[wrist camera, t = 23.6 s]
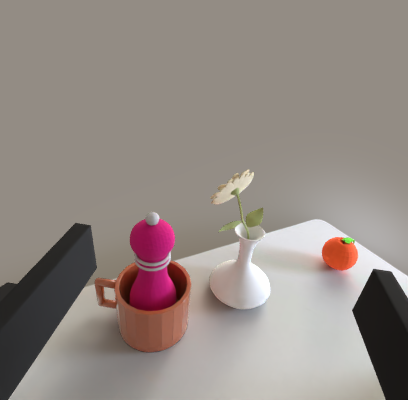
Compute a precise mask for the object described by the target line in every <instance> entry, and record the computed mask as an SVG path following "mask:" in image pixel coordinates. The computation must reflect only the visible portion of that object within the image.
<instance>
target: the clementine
mask: <svg viewBox="0 0 408 400" xmlns="http://www.w3.org/2000/svg"><path fill="white" fill-rule="evenodd" d="M352 241H353V243H352ZM354 242H355V241H354V240H353V239H351V238H342V237H335V238H332V239H330V240H328V241H327V242H326V243H325V245H324V246H323V249H322V256H323V259H324V261H325V262H326V264H327V265H328V266H330V267H331V268H333V269H336V270H347V269H349V268H351V267H352V266H354V264H355V263H356V261H357V258H358V252H357V249H356V247H355V245H354Z"/></svg>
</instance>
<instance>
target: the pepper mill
mask: <svg viewBox="0 0 408 400" xmlns="http://www.w3.org/2000/svg"><path fill="white" fill-rule="evenodd" d="M174 241H175V236H174V232H173V229H172V227H171V226H170V225H169V224H168V223H167V222H165V221H164V220H161V219H159V216H158V214H157V213H155V212H150V213H148V214H147V215H146V218H145V219H144V220H142V221H140V222H139V223H137V224H136V225H135V226H134V228H133V229H132V231H131V234H130V245H131V248H132V249H133V251H134V252H135V254H134V256H135V263H136V265H137V266H138V267H139V272H138V276H137V278H136V280H135V282H134V283H133V285H132V288H131V291H130V306H132V307H134V308H136V309H138V310H144V311H158V310H163V309H165V308H168V307H171V306H173V305H174V304H175V303H176V299H177V298H176V289H175V286H174V284H173V282H172V280H171V279H170V277H169V276H168V273H167V265H168V264H169V262H170V259H171V258H170V257H171V256H170V254H171V250H172V248H173V246H174Z"/></svg>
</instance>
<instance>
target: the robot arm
mask: <svg viewBox="0 0 408 400" xmlns="http://www.w3.org/2000/svg"><path fill="white" fill-rule="evenodd" d="M96 268H97V266H96V259H95V252H94V245H93V238H92V232H91V226H90V225H85V224H78V223H75V224H74V225H73V226H72V227H71V228H70V229H69V231H67V232H66V234H65V235H64V236H63V237H62V238H61V239H60V240H59V241H58V242H57V243H56V244H55V245H54V246H53V247H52V248H51V249H50V250H49V251H48V253H46V255H45V256H44V257H43V258H42V259H41V260H40V261H39V262H38V263H37V264H36V265H35V266H34V267H33V268H32V269H31V270H30V271H29V272H28V273H27V275H25V277H23V278H22V280H21V281H20V282H19V283H18V284H14V283H6V284H5V285H3V286H1V287H0V400H8V399H9V398H10V396H11V395H12V393H13V392H14V390H15V389H16V387H17V386H18V384H19V383H20V381H21V380H22V378H23V377H24V375H25V374H26V372H27V371H28V369H29V368H30V366H31V365H32V363H33V362H34V361H35V359H36V358H37V356H38V355H39V353H40V352H41V350H42V349H43V347H44V346H45V344H46V343H47V341H48V340H49V338H50V337H51V335H52V334H53V332H54V331H55V329H56V328H57V326H58V325H59V323H60V322H61V320H62V319H63V317H64V316H65V314H66V313H67V312H68V310H69V309H70V307H71V306H72V304H73V303H74V301H75V300H76V298H77V297H78V295H79V294H80V292H81V291H82V289H83V288H84V286H85V285H86V283H87V282H88V280H89V279H90V277H91V276H92V274H93V273H94V271H95V270H96ZM352 311H353V314H354V317H355V319H356V322H357V325H358V327H359V330H360V333H361V335H362V338H363V340H364V343H365V346H366V348H367V351H368V354H369V356H370V359H371V362H372V364H373V367H374V370H375V372H376V375H377V378H378V380H379V383H380V386H381V388H382V391H383V393H384V396H385V399H386V400H408V298H407V296H406V295H405V293H404V291H403V290H402V288H401V286H400V285H399V283H398V282H397V280H396V278H395V277H394V275H393V273H392V272H390V271H384V270H377V269H373V271H372V273H371V275H370V277H369V279H368V281H367V283H366V285H365V286H364V288H363V290H362V292H361V294H360V296H359V298H358V300H357V302H356V304H355V306H354V308H353V310H352Z"/></svg>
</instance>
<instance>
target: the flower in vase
mask: <svg viewBox="0 0 408 400" xmlns="http://www.w3.org/2000/svg"><path fill="white" fill-rule="evenodd" d="M248 172H249V170H246V171H244V172H243V173H242V174H241V176H240V177H239V174H238V173H237V174H235V175H234V176H233V177H232V179H230V180H229V181H228V182H227V184H224V185H220V186H219V187H218V190H220V192H218V193H215V194H214V195H213V196H211V199H213V201H212V202H211V203H214V204H221V203H223V202H226V201H228V200H229V199H232V198H233V197H234V196H236V195H237V198H238V203H239V208H240V214H241V220H242V223H241V221H234V222H231V223H229V224H227V225H225V226H223V227H222V228H221V230H220V231H223V230H230V229H233V228H235V232H236V234H237V236H238V237H239V241H240V250H239V256H238V259H237V260H230V261H226V262H223V263H221V264H219V265H218V266H217V267H216V268H215V269H214V270H213V272H212V273H211V275H210V279H209V284H210V288H211V290H212V292H213V293H214V295H215V296H216V297H217V298H218V299H219V300H220V301H221V302H223V303H224V304H226V305H228V306H230V307H233V308H237V309H252V308H255V307H258V306H260V305H262V304H263V303H264V302H265V301H266V300H267V299H268V297H269V295H270V285H269V281H268V278H267V277H266V275H265V274H264V273H263V272H262V271H261V270H260V269H259V268H258V267H257V266H255V265H254V264H252V263H251V256H252V253H253V250H254V247H255V245H256V244H257V243H258V241H260V240H262V239H263V238H264V236H265V232H264V230H263V229H262V228H261V227H259V226H258V225H260V223H261V222H262V218H263V208H260V209H258V210H255V211H253V212H250V213H249V214H248V215H247V216H246V223H245V222H244V220H243V214H242V207H241V202H240V198H239V193H240V192H241V191H243V190H244V189H245V188H246V187H247V186H248V185H249V184H250V182H251V181H252V179H253V177H254V175H253V173H254V172H252V173H251V174H249V173H248ZM240 223H241V224H240ZM220 231H219V232H220Z"/></svg>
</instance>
